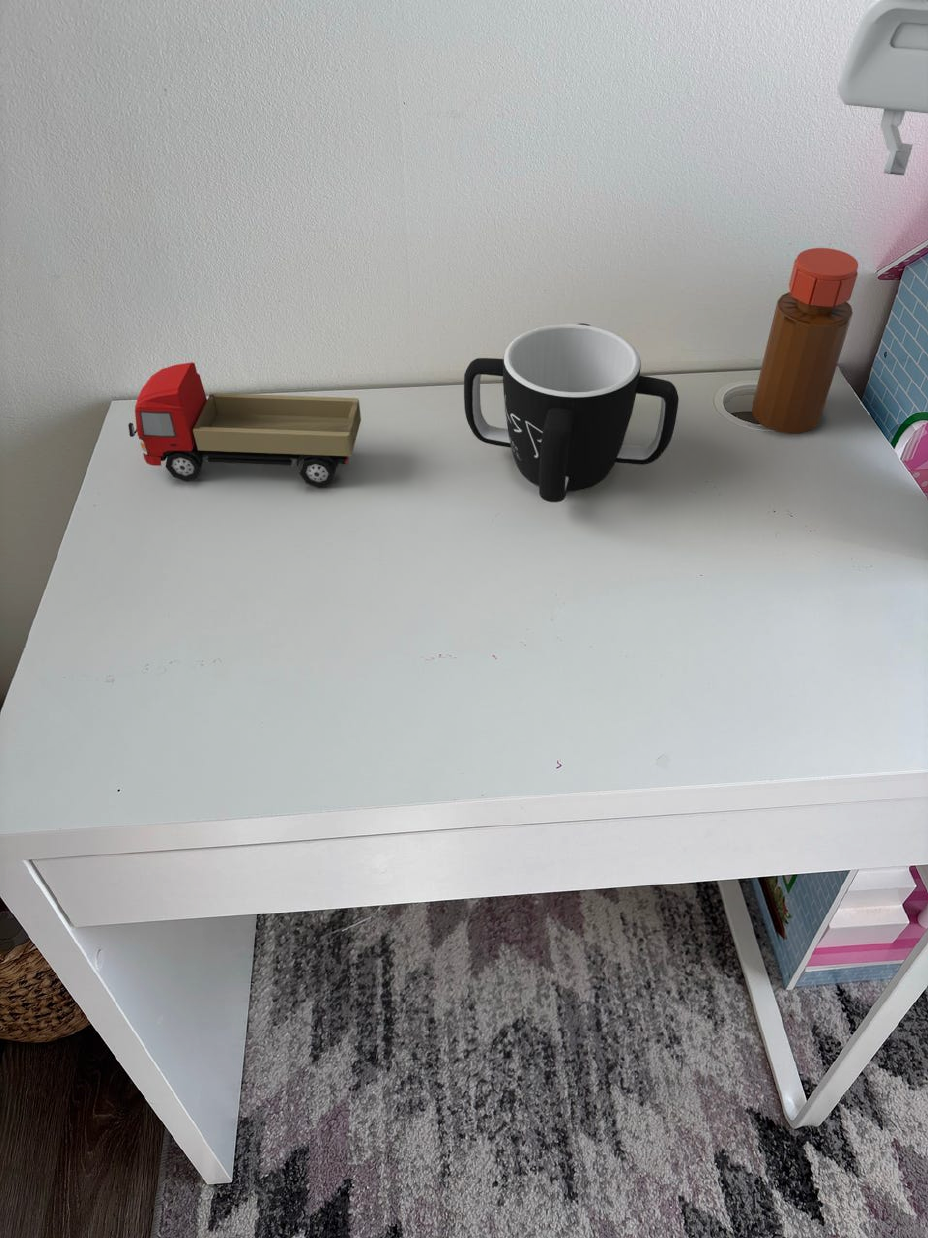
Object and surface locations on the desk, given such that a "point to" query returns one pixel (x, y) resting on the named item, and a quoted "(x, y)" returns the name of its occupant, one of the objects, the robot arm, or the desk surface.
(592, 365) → the mug
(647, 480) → the desk surface
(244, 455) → the toy truck
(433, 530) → the desk surface
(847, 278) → the cap
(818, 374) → the bottle
